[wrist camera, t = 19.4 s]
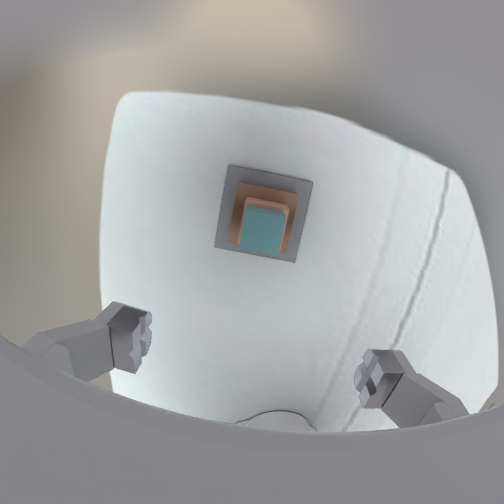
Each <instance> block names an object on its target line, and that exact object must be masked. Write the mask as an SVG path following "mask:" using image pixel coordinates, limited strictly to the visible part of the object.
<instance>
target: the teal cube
mask: <svg viewBox="0 0 504 504" xmlns="http://www.w3.org/2000/svg"><path fill="white" fill-rule="evenodd" d="M285 222H286V216H285V214H284V212H283V211H278V210H272V209H267V208H262V207H256V206H251V205H248V206H247V208H246V211H245V217H244V223H243V228H242V234H241V240H240V245H239V249H242V250H247V251H253V252H258V253H263V254H269V255H274V256H278V254H279V250H280V245H281V241H282V236H283V231H284V226H285Z"/></svg>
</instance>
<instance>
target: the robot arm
mask: <svg viewBox="0 0 504 504" xmlns="http://www.w3.org/2000/svg"><path fill="white" fill-rule="evenodd" d="M151 323H152V314H151V312H150V311H146V310H143V309H139V308H136V307H133V306H129V305H126V304H123V303H119V302H116V301H114V302H112V303H111V304H110V305H109V306H108V307H107V308H105V309H104V310H103V311H102V312H101V313H100V314H99V315H98V317H96V318H95V319H94V320H93V321H92V320H86V321H82V322H78V323H74V324H70V325H66V326H62V327H58V328H54V329H50V330H46V331H42V332H38V333H36V334H35V335H34V336H33V337H32V338H30V339H29V340H28V341H27V342H26V343H25V344H24V345H23V346H22V347H19V346H17V345H16V344H14V343H12V342H11V341H9V340H8V339H6V338H4V337H3V336H2V335H0V504H504V404H503V405H500V406H497V407H494V408H491V409H488V410H484V411H481V412H478V413H474V414H469V413H468V411H467V410H466V408H465V406H464V405H463V403H462V402H461V400H460V399H459V398H457V397H456V396H454V395H453V394H451V393H449V392H448V391H446V390H445V389H443V388H441V387H440V386H438V385H437V384H435V383H433V382H432V381H430V380H429V379H427V378H425V377H424V376H422V375H421V374H416V372H415V371H414V369H413V367H412V366H411V364H410V363H409V361H408V360H407V358H406V357H405V355H404V354H403V352H402V351H400V350H375V349H367V350H366V352H365V353H364V355H363V357H362V358H363V363H362V364H360V365H359V366H358V367H357V369H356V372H355V375H354V385H355V388H356V389H357V390H358V391H359V392H360V395H359V399H360V402H361V405H362V407H363V408H381V410H382V411H383V412H384V413H385V414H386V415H387V416H388V417H389V418H390V419H391V420H392V421H393V422H394V423H395V424H396V425H397V426H398V427H399V428H397V429H388V430H376V431H360V432H316V429H315V428H313V427H311V426H310V425H309V424H308V422H307V420H306V419H305V418H304V417H302V416H300V415H298V414H295V413H291V412H284V411H275V412H268V413H263V414H260V415H257V416H255V417H253V418H252V419H250V420H246V421H241V422H238V423H236V425H235V424H229V423H223V422H217V421H212V420H207V419H202V418H198V417H193V416H189V415H185V414H181V413H177V412H173V411H169V410H166V409H162V408H158V407H155V406H152V405H148V404H145V403H142V402H139V401H136V400H133V399H130V398H127V397H124V396H121V395H119V394H116V393H113V392H111V391H108V390H105V389H103V388H100V387H98V386H96V385H93V384H91V383H88V382H89V381H91V380H93V379H95V378H97V377H98V376H100V375H102V374H104V373H106V372H108V371H110V370H112V369H114V368H117V369H120V370H124V371H127V372H130V373H134V374H135V373H136V372H137V370H138V368H139V367H140V365H141V363H142V357H143V356H146V354H147V353H148V351H149V348H150V345H151V339H152V332H151V330H150V329H149V326H150V324H151Z"/></svg>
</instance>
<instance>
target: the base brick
mask: <svg viewBox="0 0 504 504" xmlns="http://www.w3.org/2000/svg"><path fill="white" fill-rule="evenodd" d="M247 197H252V198H257V199H262V200H267V201H272V202H277V203H282V204H286V205H287V207H288V208H289V214H288V219H287V223H286V228H285V232H284V237H283V241H282V245H281V250H280V252H282V253H286V252H287V247H288V243H289V239H290V234H291V230H292V226H293V221H294V217H295V212H296V208H297V203H298V198H299V194H297V193H294V192H289V191H284V190H280V189H275V188H270V187H265V186H260V185H255V184H249V183H244V182H238V186H237V191H236V196H235V202H234V207H233V213H232V219H231V224H230V230H229V236H228V242H231V243H236V244H237V242H238V237H239V231H240V226H241V221H242V215H243V210H244V205H245V200H246V199H247Z"/></svg>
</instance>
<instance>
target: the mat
mask: <svg viewBox="0 0 504 504" xmlns="http://www.w3.org/2000/svg"><path fill="white" fill-rule="evenodd" d="M238 182H244V183H249V184H255V185H260V186H265V187H270V188H275V189H280V190H284V191H289V192H294V193H297V194H299V198H298V203H297V208H296V212H295V217H294V221H293V226H292V230H291V234H290V239H289V243H288V247H287V252H286V253H282V252H279V254H278V256H274V255H269V254H263V253H258V252H253V251H247V250H242V249H239V245H240V244H236V243H231V242H228V236H229V230H230V224H231V219H232V213H233V207H234V202H235V196H236V191H237V186H238ZM312 186H313V182H309V181H305V180H300V179H296V178H291V177H287V176H282V175H277V174H273V173H268V172H262V171H257V170H252V169H247V168H241V167H235V166H229V165H228V171H227V176H226V182H225V187H224V193H223V199H222V204H221V210H220V216H219V222H218V228H217V234H216V241H215V247H216V248H222V249H227V250H232V251H237V252H242V253H247V254H252V255H258V256H263V257H268V258H273V259H278V260H283V261H289V262H294V263H295V259H296V255H297V251H298V247H299V243H300V239H301V235H302V230H303V226H304V222H305V217H306V213H307V209H308V204H309V200H310V195H311V190H312Z"/></svg>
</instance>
